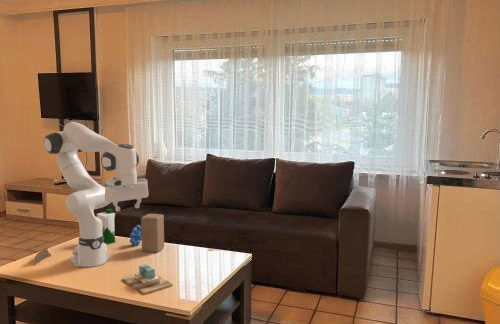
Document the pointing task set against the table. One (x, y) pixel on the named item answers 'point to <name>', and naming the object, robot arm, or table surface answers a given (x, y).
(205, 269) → the table surface
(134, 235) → the grapes
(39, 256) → the wood plank
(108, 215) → the milk carton
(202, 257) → the table surface
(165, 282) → the wooden board
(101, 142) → the robot arm
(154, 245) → the wooden block
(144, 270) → the block
